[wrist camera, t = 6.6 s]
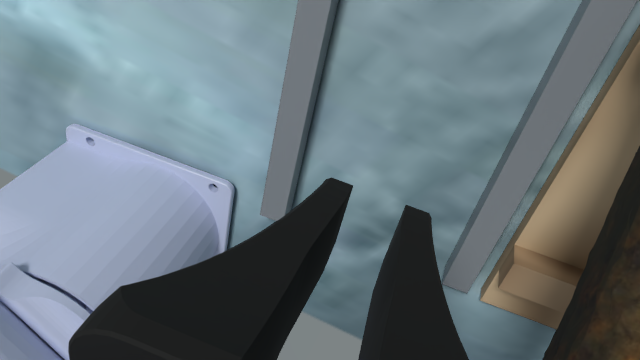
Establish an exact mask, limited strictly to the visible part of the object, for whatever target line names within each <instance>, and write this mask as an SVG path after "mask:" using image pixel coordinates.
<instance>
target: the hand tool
mask: <svg viewBox="0 0 640 360" xmlns="http://www.w3.org/2000/svg"><path fill="white" fill-rule="evenodd" d="M543 360H640V146H639V148H638V150H637V152H636V153H635V156H634V158H633V160H632V162H631V165H630V167H629V169H628V171H627V173H626V175H625V177H624V179H623V181H622V184H621V185H620V187H619V189H618V191H617V193H616V196H615V199H614V201H613V204H612V206H611V208H610V210H609V212H608V214H607V217H606V220H605V222H604V225H603V227H602V229H601V231H600V233H599V236H598V238H597V240H596V242H595V244H594V246H593V248H592V249H591V251H590V252H589V256H588V260H587V263H586V267H585V269H584V271H583V273H582V275H581V277H580V279H579V281H578V283H577V286H576V289H575V291H574V294H573V297H572V299H571V301H570V303H569V305H568V307H567V309H566V311H565V313H564V315H563V318H562V320H561V322H560V324H559V326H558V328H557V330H556V332H555V334H554V336H553V338H552V340H551V343H550V345H549V347H548V349H547V350H546V352H545V354H544V358H543Z"/></svg>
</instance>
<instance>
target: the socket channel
mask: <svg viewBox="0 0 640 360" xmlns="http://www.w3.org/2000/svg"><path fill="white" fill-rule="evenodd" d="M636 1H637V0H582V2H581V4H580V6H579V8H578V10H577V12H576V13H575V15H574V17H573V19H572V21H571V23H570V25H569V27H568V29H567V31H566V33H565V35H564V37H563V39H562V41H561V43H560V45H559V47H558V48H557V50H556V52H555V54H554V56H553V58H552V60H551V62H550V64H549V66H548V68H547V70H546V72H545V74H544V76H543V78H542V80H541V81H540V83H539V85H538V87H537V89H536V91H535V93H534V95H533V97H532V99H531V101H530V103H529V105H528V107H527V109H526V111H525V113H524V114H523V116H522V118H521V120H520V122H519V124H518V126H517V128H516V130H515V132H514V134H513V136H512V138H511V140H510V142H509V144H508V146H507V147H506V149H505V151H504V153H503V155H502V157H501V159H500V161H499V163H498V165H497V167H496V169H495V171H494V173H493V175H492V177H491V179H490V180H489V182H488V184H487V186H486V188H485V190H484V192H483V194H482V196H481V198H480V200H479V202H478V204H477V206H476V208H475V210H474V212H473V213H472V215H471V217H470V219H469V221H468V223H467V225H466V227H465V229H464V231H463V233H462V235H461V237H460V239H459V241H458V243H457V245H456V246H455V248H454V250H453V252H452V254H451V256H450V258H449V260H448V262H447V264H446V266H445V270H444V276H443V282H442V284H443V285H446V286H449V287H451V288H454V289H457V290H459V291H462V292H465V293H468V291H469V289H470V288H471V286H472V284H473V282H474V281H475V279H476V277H477V276H478V274H479V272H480V270H481V269H482V267H483V265H484V263H485V262H486V260H487V258H488V257H489V255H490V253H491V251H492V250H493V248H494V246H495V245H496V243H497V241H498V239H499V238H500V236H501V234H502V232H503V231H504V229H505V227H506V226H507V224H508V222H509V220H510V219H511V217H512V215H513V213H514V212H515V210H516V208H517V207H518V205H519V203H520V201H521V200H522V198H523V196H524V195H525V193H526V191H527V189H528V188H529V186H530V184H531V182H532V181H533V179H534V177H535V176H536V174H537V172H538V170H539V169H540V167H541V165H542V163H543V162H544V160H545V158H546V157H547V155H548V153H549V151H550V150H551V148H552V146H553V145H554V143H555V141H556V139H557V138H558V136H559V134H560V132H561V131H562V129H563V127H564V126H565V124H566V122H567V120H568V119H569V117H570V115H571V114H572V112H573V110H574V108H575V107H576V105H577V103H578V101H579V100H580V98H581V96H582V95H583V93H584V91H585V89H586V88H587V86H588V84H589V82H590V81H591V79H592V77H593V76H594V74H595V72H596V70H597V69H598V67H599V65H600V64H601V62H602V60H603V58H604V57H605V55H606V53H607V51H608V50H609V48H610V46H611V45H612V43H613V41H614V39H615V38H616V36H617V34H618V33H619V31H620V29H621V27H622V26H623V24H624V22H625V20H626V19H627V17H628V15H629V14H630V12H631V10H632V8H633V7H634V5H635V3H636ZM337 5H338V0H298V4H297V10H296V15H295V21H294V27H293V32H292V38H291V43H290V49H289V55H288V60H287V66H286V71H285V77H284V83H283V88H282V94H281V99H280V105H279V111H278V116H277V122H276V127H275V133H274V139H273V144H272V150H271V156H270V161H269V167H268V172H267V178H266V184H265V189H264V195H263V200H262V206H261V212H260V215H262V216H265V217H267V218H270V219H273V220H275V221H277V220H279V219H280V218H282V217H283V216H285V215H286V214H287V213H289V212H290V210H291V208H292V204H293V199H294V195H295V191H296V186H297V182H298V177H299V173H300V168H301V164H302V160H303V155H304V151H305V146H306V142H307V137H308V133H309V129H310V124H311V120H312V115H313V111H314V107H315V102H316V98H317V93H318V89H319V84H320V80H321V76H322V71H323V67H324V62H325V58H326V54H327V49H328V45H329V40H330V36H331V31H332V27H333V23H334V18H335V14H336V9H337Z"/></svg>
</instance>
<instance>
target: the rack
mask: <svg viewBox="0 0 640 360" xmlns="http://www.w3.org/2000/svg"><path fill="white" fill-rule="evenodd" d="M639 146H640V25H639V27H638V29H637V30H636V32H635V34H634V35H633V37H632V39H631V40H630V42H629V44H628V45H627V47H626V49H625V50H624V52H623V54H622V55H621V57H620V59H619V60H618V62H617V64H616V65H615V67H614V69H613V70H612V72H611V74H610V75H609V77H608V79H607V80H606V82H605V84H604V85H603V87H602V89H601V90H600V92H599V94H598V95H597V97H596V99H595V100H594V102H593V104H592V105H591V107H590V109H589V110H588V112H587V114H586V115H585V117H584V119H583V120H582V122H581V124H580V125H579V127H578V129H577V130H576V132H575V134H574V135H573V137H572V139H571V140H570V142H569V144H568V145H567V147H566V149H565V150H564V152H563V153H562V155H561V157H560V158H559V160H558V162H557V163H556V165H555V167H554V168H553V170H552V172H551V173H550V175H549V177H548V178H547V180H546V182H545V183H544V185H543V187H542V188H541V190H540V192H539V193H538V195H537V197H536V198H535V200H534V202H533V203H532V205H531V207H530V208H529V210H528V212H527V213H526V215H525V217H524V218H523V220H522V222H521V223H520V225H519V227H518V228H517V230H516V232H515V233H514V235H513V237H512V238H511V240H510V242H509V243H508V245H507V247H506V248H505V250H504V252H503V253H502V255H501V257H500V258H499V260H498V262H497V263H496V265H495V267H494V268H493V270H492V272H491V273H490V275H489V277H488V278H487V280H486V282H485V283H484V285H483V287H482V288H481V299H480V300H481V301H483V302H486V303H488V304H491V305H494V306H496V307H499V308H502V309H504V310H507V311H509V312H512V313H515V314H517V315H520V316H523V317H525V318H528V319H530V320H533V321H536V322H538V323H541V324H544V325H546V326H549V327H551V328H554V329H557V328H558V326H559V324H560V322H561V320H562V318H563V315H564V313H565V311H566V309H567V307H568V305H569V303H570V301H571V299H572V297H573V294H574V291H575V289H576V286H577V283H578V281H579V279H580V277H581V275H582V273H583V271H584V269H585V267H586V263H587V260H588V256H589V252H590V251H591V249H592V248H593V246H594V244H595V242H596V240H597V238H598V236H599V233H600V231H601V229H602V227H603V225H604V222H605V220H606V217H607V214H608V212H609V210H610V208H611V206H612V204H613V201H614V199H615V196H616V193H617V191H618V189H619V187H620V185H621V184H622V181H623V179H624V177H625V175H626V173H627V171H628V169H629V167H630V165H631V162H632V160H633V158H634V156H635V153H636V152H637V150H638V148H639Z"/></svg>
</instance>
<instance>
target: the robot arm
mask: <svg viewBox="0 0 640 360" xmlns="http://www.w3.org/2000/svg"><path fill="white" fill-rule="evenodd" d="M66 137H67V142H65V143H64V144H63V145H61V146H60V147H58V148H57V149H56V150H54V151H53V152H51V153H50V154H49V155H47V156H46V157H44V158H43V159H42V160H40V161H39V162H37V163H36V164H35V165H33V166H32V167H31V168H29V169H28V170H26V171H25V172H24V173H22V174H21V175H19V176H18V177H17V178H15V179H14V180H12V181H11V182H10V183H8V184H7V185H6V186H4V187H3V188H1V189H0V360H277V358H278V355H279V353H280V351H281V349H282V347H283V345H284V343H285V341H286V339H287V337H288V335H289V333H290V331H291V329H292V328H293V326H294V324H295V322H296V321H297V319H298V317H299V315H300V313H301V311H302V310H303V308H304V306H305V304H306V302H307V301H308V299H309V297H310V295H311V293H312V292H313V290H314V288H315V286H316V284H317V282H318V281H319V279H320V277H321V275H322V273H323V271H324V269H325V266H326V264H327V261H328V259H329V257H330V254H331V252H332V249H333V247H334V244H335V242H336V239H337V236H338V233H339V229H340V226H341V223H342V220H343V216H344V213H345V210H346V207H347V204H348V200H349V197H350V194H351V191H352V188H353V185H350V184H347V183H345V182H342V181H339V180H336V179H334V178H329V179H326V180H325V181H324V182H323V184H322V185H321V186H320V187H318V188H317V189H316V190H315V191H314V192H313V193H312V194H311V195H310V196H309V197H307V198H306V199H305V200H304V201H303V202H302V203H300V204H299V205H298V206H296V207H295V208H294V209H292V210H291V211H290V212H289V213H287V214H286V215H285V216H283V217H282V218H280V219H279V220H277V221H276V222H274V223H273V224H271V225H270V226H268V227H267V228H265V229H264V230H262V231H261V232H259V233H258V234H256V235H254V236H253V237H251V238H249V239H247V240H246V241H244V242H242V243H240V244H238V245H236V246H234V247H233V248H231V249H228V250H227V244H228V236H229V229H230V221H231V214H232V206H233V199H234V186H233V185H232V184H231V183H230V182H229V181H227V180H225V179H222V178H220V177H217V176H214V175H212V174H209V173H206V172H204V171H201V170H198V169H196V168H193V167H190V166H188V165H185V164H182V163H180V162H177V161H174V160H172V159H169V158H166V157H164V156H161V155H158V154H156V153H153V152H150V151H148V150H145V149H142V148H140V147H137V146H134V145H132V144H129V143H126V142H124V141H121V140H118V139H116V138H113V137H110V136H108V135H105V134H102V133H100V132H97V131H94V130H92V129H89V128H86V127H84V126H81V125H78V124H71V125H70V126H68V127H67V128H66ZM92 139H93V140H94V141H93V140H92ZM213 184H215V185H216V186H217V187H218V188H216V187H215V186H214V185H213ZM359 360H469V359H468V357H467V354H466V352H465V350H464V348H463V345H462V343H461V341H460V338H459V336H458V333H457V331H456V328H455V325H454V323H453V320H452V317H451V314H450V311H449V308H448V305H447V302H446V298H445V295H444V292H443V288H442V284H441V280H440V276H439V271H438V267H437V262H436V257H435V251H434V245H433V237H432V225H431V216H430V214H429V213H427V212H424V211H422V210H419V209H416V208H413V207H411V206H408V205H406V206H405V208H404V211H403V213H402V216H401V218H400V221H399V223H398V226H397V228H396V231H395V233H394V236H393V238H392V240H391V243H390V245H389V248H388V250H387V253H386V255H385V258H384V260H383V263H382V266H381V269H380V272H379V275H378V278H377V281H376V284H375V287H374V290H373V294H372V299H371V303H370V308H369V312H368V317H367V322H366V326H365V331H364V336H363V340H362V345H361V350H360V354H359Z"/></svg>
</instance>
